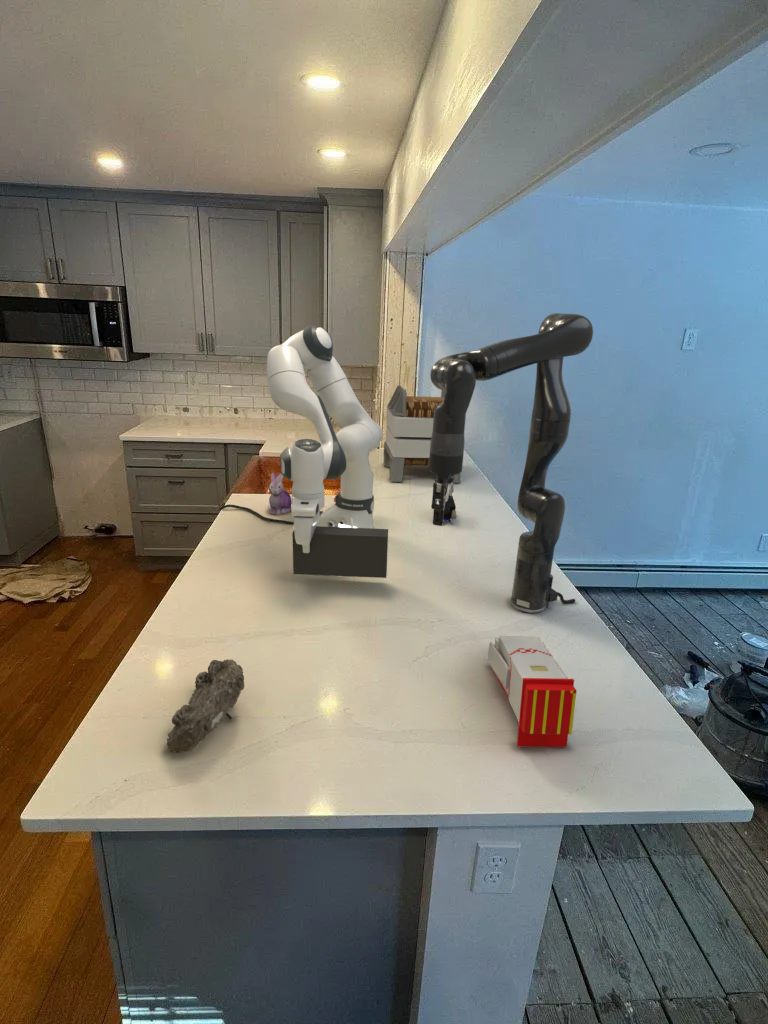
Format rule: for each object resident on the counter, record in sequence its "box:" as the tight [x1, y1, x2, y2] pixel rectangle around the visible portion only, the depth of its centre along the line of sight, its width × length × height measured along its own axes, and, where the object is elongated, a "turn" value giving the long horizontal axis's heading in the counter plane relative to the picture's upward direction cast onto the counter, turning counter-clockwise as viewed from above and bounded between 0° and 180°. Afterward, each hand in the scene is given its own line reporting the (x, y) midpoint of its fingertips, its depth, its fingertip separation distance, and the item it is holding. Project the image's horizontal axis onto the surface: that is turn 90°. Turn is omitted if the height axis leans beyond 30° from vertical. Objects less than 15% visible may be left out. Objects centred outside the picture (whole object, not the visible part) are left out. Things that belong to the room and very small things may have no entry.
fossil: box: [166, 658, 245, 754], centre depth 106 cm, size 22×10×15 cm
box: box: [291, 526, 389, 579], centre depth 159 cm, size 26×6×12 cm, turn 88°
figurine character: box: [437, 495, 457, 524], centre depth 215 cm, size 7×8×15 cm
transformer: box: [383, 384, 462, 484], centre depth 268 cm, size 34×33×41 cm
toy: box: [486, 635, 577, 748], centre depth 115 cm, size 12×13×30 cm
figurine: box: [268, 472, 292, 515], centre depth 214 cm, size 9×10×15 cm
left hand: (308, 547), depth 159 cm, fingers closed on box, 6 cm apart
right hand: (441, 518), depth 132 cm, fingers open, 8 cm apart
